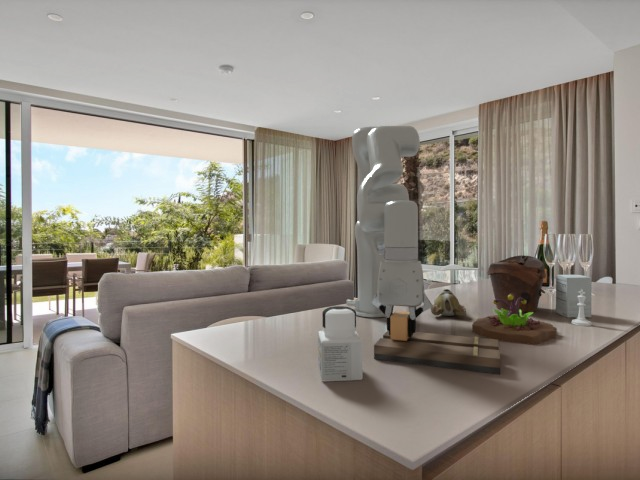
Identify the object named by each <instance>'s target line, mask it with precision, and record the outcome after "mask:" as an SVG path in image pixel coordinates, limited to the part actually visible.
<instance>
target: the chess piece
mask: <svg viewBox="0 0 640 480" xmlns="http://www.w3.org/2000/svg"><path fill="white" fill-rule="evenodd" d="M578 293H580V295H579V296H577V297H578V299H579V302H580V303H578V304H577V305H579V306H580V307H579V314H578V317H576V318H575V319H572V320H571V324H572V325H575V326H581V327H591V326H592V322H591V321H590V320H588V319H587V317H585V315H584V307H583V306H586V304H584V300H585V298H586V297H585V296H583V294H585V292H583V290H582V289H581V291H578Z"/></svg>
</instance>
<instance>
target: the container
mask: <svg viewBox="0 0 640 480" xmlns="http://www.w3.org/2000/svg"><path fill="white" fill-rule="evenodd" d="M354 309H355V308H352V307H350V306H339V305H337V306H329V307H326V308H325V309H324V310H322V315H321V316H322V330H319V331H318V332H317V335H318V338H317V342H318V344H317V345H318V370H319V374H320V378H321V379H320V380H321V381H322V382H324V383H325V382H348V381H350V382H351V381H363V377H364V376H363V339H362V338H361V336H360V335H359V334H358V331H357V315H356V311H355V310H354Z"/></svg>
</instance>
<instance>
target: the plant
mask: <svg viewBox="0 0 640 480" xmlns="http://www.w3.org/2000/svg"><path fill="white" fill-rule="evenodd" d="M508 299H509V300H512V302H511V306H510V305H509V304H508V303H507V302H505V301H504V300H501V299H495V298H494V299H493V300H492V303H493V304H494V305H496V304H498V301H501V302H503V303H504V304H505V305H506V306H507V307H508V310H509V311H507V310H505V309H503V308H502V309H501V310H499V309H494V308H492V310H493V312H495V313H496V314H497V315H496V314H495V315H494V314H493V315H490V316H489V315H488V316H486V317H481V318H477V319H476V320H474V321H473V322H472V325H471V333H474V334H477V335H480V336H482V337H483V338H487V339H497V340H498V341H502V342H506V343H519V344H527V345H538V344H539V345H540V344H541V343H543V342H547V341H548V340H550V339H556V338H557V335H558V334H557V333H558V330H557V329H558V328H557V327H555V326H554V325H553V324H551V323H548V322H544V321H540V320H536V319H533V318H532V317H530V316H532V315H534V312H535V311H532V312H525V313H524V314H523V315H522V313H523V312H521V309H519V301H520V300H521V302H522V304H526V300H525V299H523V298H522V297H520V298H518V299H517V301H516V302H515V296H514V294H513V293H510V294H509V295H508ZM501 311H502V312H501Z"/></svg>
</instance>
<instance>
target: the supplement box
mask: <svg viewBox="0 0 640 480" xmlns="http://www.w3.org/2000/svg"><path fill="white" fill-rule="evenodd" d="M592 280H593V279H592V277H591V276H587V275H583V274H555V313H556V314H558V315H561V316H563V317H565V318H577V317H578V314H579V307H580V306H579V305H577V304H578V303H580V302H579V299H578V297H577V296H579V295H580V293H578V291H581V289H582V290H583V292H585V294H583V296H585V297H586V298H585V300H584V304H586V306H583V307H584V315H585V318H592V288H593V287H592V286H593V285H592Z"/></svg>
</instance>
